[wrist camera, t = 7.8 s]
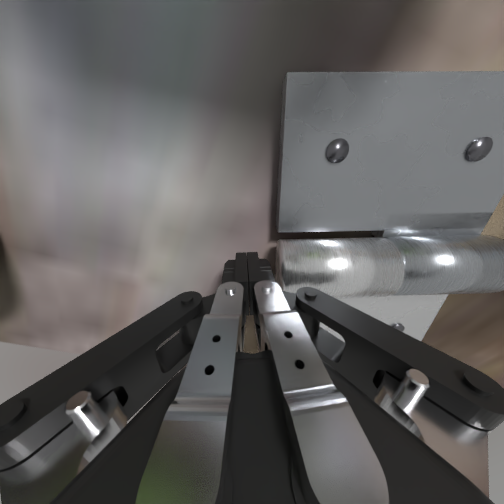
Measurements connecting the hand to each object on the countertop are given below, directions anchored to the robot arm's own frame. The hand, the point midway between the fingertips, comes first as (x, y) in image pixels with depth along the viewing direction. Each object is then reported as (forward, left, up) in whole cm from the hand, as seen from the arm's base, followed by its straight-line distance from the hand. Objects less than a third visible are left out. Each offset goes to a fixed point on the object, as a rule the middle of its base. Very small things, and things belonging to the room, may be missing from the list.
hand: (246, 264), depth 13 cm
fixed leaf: (-10, -4, -2) cm, 10 cm away
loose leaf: (-9, +4, -1) cm, 10 cm away
